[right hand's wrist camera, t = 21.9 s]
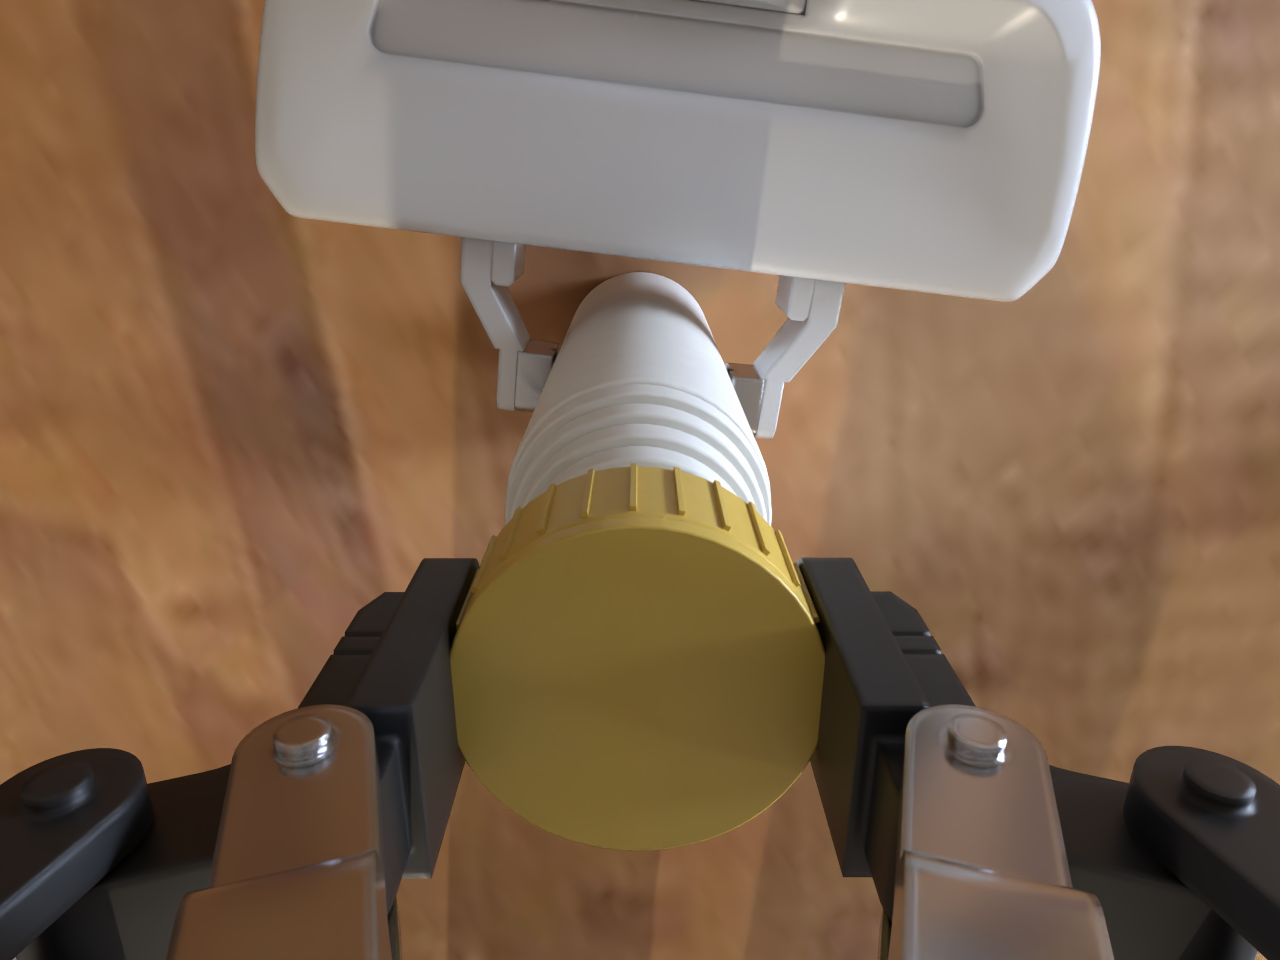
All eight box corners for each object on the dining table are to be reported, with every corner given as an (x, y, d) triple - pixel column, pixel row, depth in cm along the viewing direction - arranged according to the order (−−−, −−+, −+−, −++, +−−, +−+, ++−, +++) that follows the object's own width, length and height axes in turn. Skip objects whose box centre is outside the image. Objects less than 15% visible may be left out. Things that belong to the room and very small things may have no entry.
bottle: (692, 422, 31) (778, 854, 12) (558, 396, 31) (420, 798, 11) (723, 287, 30) (884, 533, 10) (582, 258, 29) (466, 457, 10)
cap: (437, 485, 11) (396, 551, 10) (791, 438, 11) (822, 495, 9) (506, 769, 13) (484, 873, 11) (815, 733, 13) (846, 833, 11)
